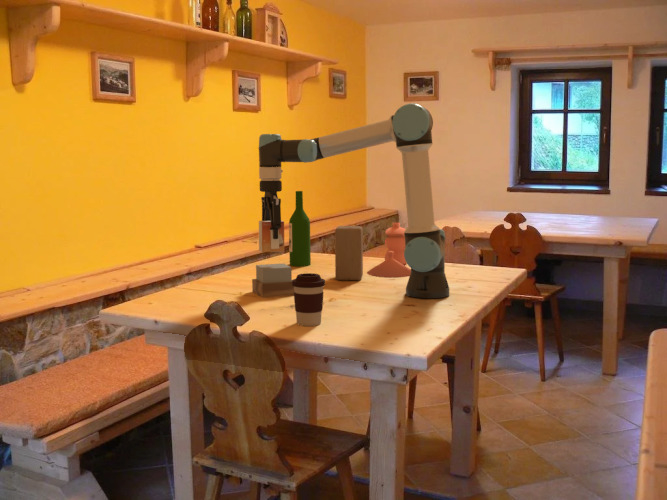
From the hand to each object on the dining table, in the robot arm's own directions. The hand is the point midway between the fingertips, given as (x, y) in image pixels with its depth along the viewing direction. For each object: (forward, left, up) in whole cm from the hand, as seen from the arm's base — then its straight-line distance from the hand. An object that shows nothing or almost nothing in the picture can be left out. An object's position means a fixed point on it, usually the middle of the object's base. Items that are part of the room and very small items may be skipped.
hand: (271, 247), depth 253 cm
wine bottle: (+52, -30, -16) cm, 62 cm away
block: (+17, -37, -16) cm, 44 cm away
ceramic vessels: (+26, -61, -16) cm, 68 cm away
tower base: (0, -1, -17) cm, 17 cm away
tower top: (0, 0, -12) cm, 12 cm away
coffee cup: (-37, +1, -19) cm, 42 cm away
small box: (0, 0, -2) cm, 2 cm away
